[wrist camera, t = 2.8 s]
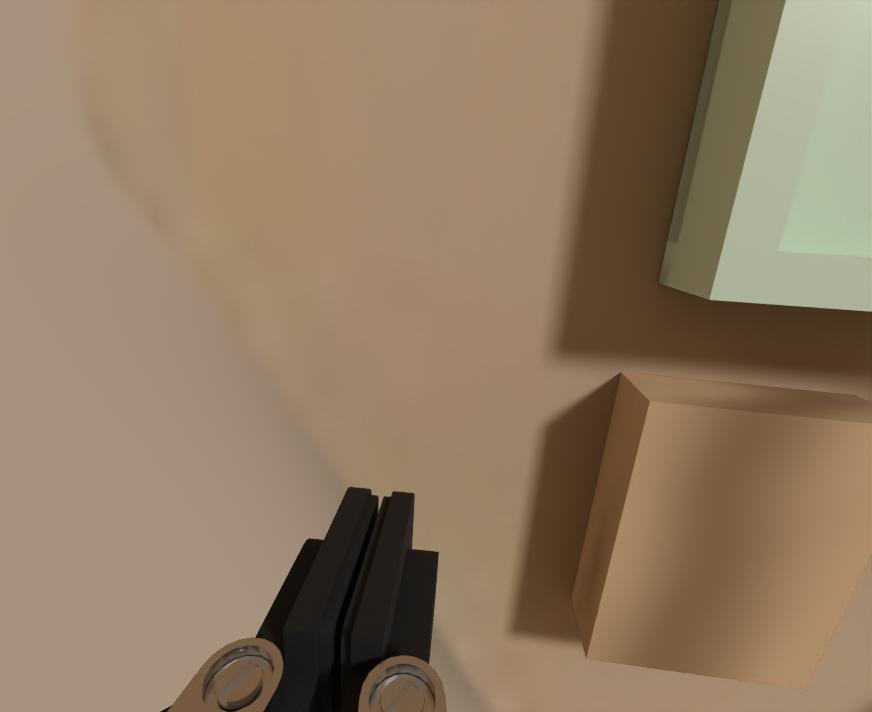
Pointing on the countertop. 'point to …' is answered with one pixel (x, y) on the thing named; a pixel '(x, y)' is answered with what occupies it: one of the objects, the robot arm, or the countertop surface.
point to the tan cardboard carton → (725, 528)
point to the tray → (780, 160)
